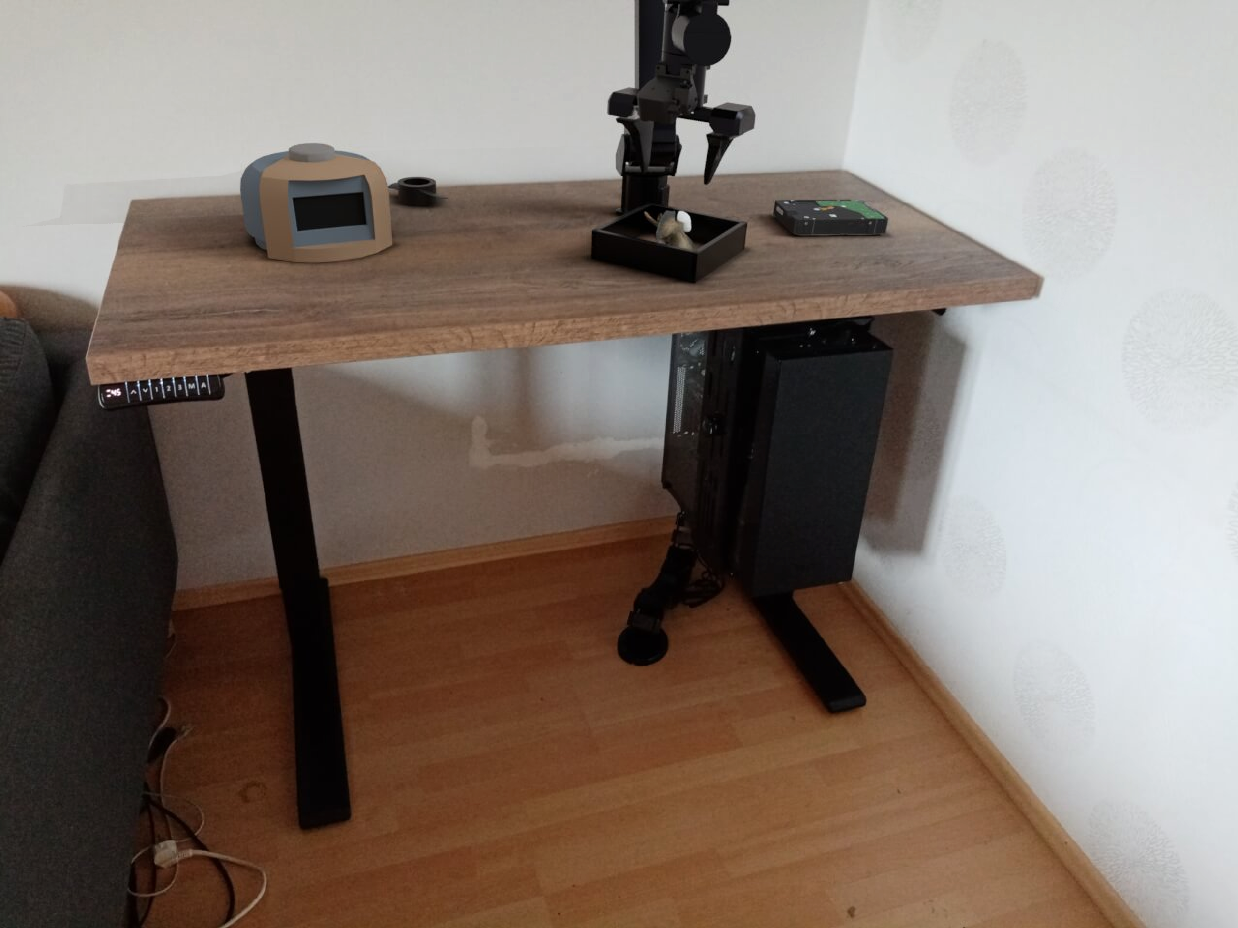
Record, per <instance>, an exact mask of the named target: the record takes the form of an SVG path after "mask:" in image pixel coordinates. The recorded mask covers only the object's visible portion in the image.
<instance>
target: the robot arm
mask: <svg viewBox="0 0 1238 928" xmlns="http://www.w3.org/2000/svg"><path fill="white" fill-rule="evenodd" d="M730 1H731V0H634V87H630V86H629V87H625V88H622V89H618V90H615V91H613V92H611V93H610V95H609V96H608V99H607V108H606V109H607V110H606V111H607V112H606V114H607V115H608V116H613V117H616V118H615V121H616V123H617V124H621V125H622V126H623V133H621V135H620V137H619V141H618V145H617V149H616V152H615V170H616V171H617V173H618V175H619V176H620V177H621V192H620V194H621V195H620V207H619V208H617V209H615V214H617V215H620V216H622V215H624V214H626V213H628V212H630V211H632V210H634V209H636V208H638V207H640V206H642V205H644V204H646V203H648V202H650V203H655V204H660V205H665V206H669V203H670V188H671V185H670V184H669V183H668V178H669V177H676V175H677V172H678V166H679V160H680V156H681V152H682V148H683V144H681V142H680V137H679V134H677V119H683V120H687V121H695V122H702V123H708V126H709V128H710V129H711V130H712V131H711V132H708V133H706V134H705V136H706V141H707V150H706V157H705V164H704V171H703V185H705V186H707V185H709V184H710V183H711V182H712V180H713V177H714V176H715V174H716V171H717V169H718V168H719V165H720V163H721V161H722V160H723V158H724V156H725V153H726V152H727V150H728V149H729V147H730V145H732V142H733V141H734V140H735V139H736V138H739V137H741V136H743V135H744V134H746V133H747V132H750V131H752V130H754V129H755V125H756V124H755V123H756V117H757V116H756V112H755V110H754V108H753V106H752V105H747V104H741V103H735V102H724V103H722V104H720V105H717V106H714V107H710V106H705V104H708V98H709V94H705V90H706V79H707V71H709V70H711V66H714V65H716V64H718V63H720V62H721V61H722V60H723V59H724V58H725V57H726V55H727V54H728V52H729V50H730V48H731V44H732V33H731V28H730V25H729V24H728V22H727V21H726V20H725V18H724V17H723V16H721V15H720V14H718V9H719V7H729V6H730Z"/></svg>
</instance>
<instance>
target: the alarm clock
mask: <svg viewBox="0 0 1238 928" xmlns="http://www.w3.org/2000/svg"><path fill="white" fill-rule="evenodd" d="M388 186H389V185H388V181H387V177H386V175H385V174H384V171H383V170H382V168H381V167H380V166H379V165H378V163H376V161H373V160H371V159H369V157H368V158H367V157H366V156H364V155H362V154H358V153H355V152H351V151H344V150H336V149H335V147H334V146H332V145H330V144H327V143H319V142H309V143H308V142H305V143H298V144H294V145H291V146H290V147H289V148H288V150H285V151H280V152H274V153H269V154H267V155H264V156H261V157H259V158H256V159H255V160H254V161H252V162H251V163H249V164H248V165H247V166H246V167H245V168H244V171H243V173H242V175H241V177H240V183H239V192H240V193H239V195H240V200H241V207H242V213H243V219H244V220H243V221H244V227H245V231H246V232H247V234H249V235H250V236H251V237H253V238H254V239H255V240H254V241H255V244H256V245H257V246H258V247H259V248H261V249H263V250H265V251H266V252H267V258H268V259H272V260H279V261H285V262H293V263H317V264H318V263H329V262H341V261H349V260H356V259H361V258H364V257H369V256H371V255H375V254H377V253H380V252H381V251H383V250H385V249H387V248H389V247H391V246H393V236H392V218H391V204H390V192H389V191H390V188H388Z"/></svg>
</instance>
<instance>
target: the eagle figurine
mask: <svg viewBox="0 0 1238 928" xmlns="http://www.w3.org/2000/svg"><path fill="white" fill-rule="evenodd" d="M644 214H645V216H646V218H647V219H648V220H649V221H650V222H651V223H652V224H654V225H655V226H656V227H657V231H656V233H655V240H656V241H657V243H662V244H667V245H671V246H676V247H680V248H685V249H689V250H694V251H695V250H696V249H695V248H696V247H695V244H694V241H693V240H691V239H690V238H689V237H688V236H687V235H686V234H685V233H684V232H689V231H690V230H691V220H690V216H689V215H688V214H687V213H685V212H684V211H679V212H678V214H677V220H676V221H675V211H668V210H667V211H665V213H664V214H663V216H662V214H661V213H660V214H659V216H658V221H656V220H654V219H653V218H652V217H650V216H649V214H648V213H647V212H644Z"/></svg>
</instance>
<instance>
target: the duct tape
mask: <svg viewBox="0 0 1238 928" xmlns="http://www.w3.org/2000/svg"><path fill="white" fill-rule="evenodd" d="M388 189H389V190H391V189H392V190H396V191H397V196H398V202H399V204H402V205H404V206H410V207H425V206H432V205H435V204H436V203H437V201H438V199H441V200H445V199H446V200H448V199H449V198H448V197H446V196H443V195H440V194H437V181H436V180H435V179H434V178H431V177H425V176H407V177H403V178H399V179H398V180H397V182H392V183H391V184H389V185H388Z"/></svg>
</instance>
